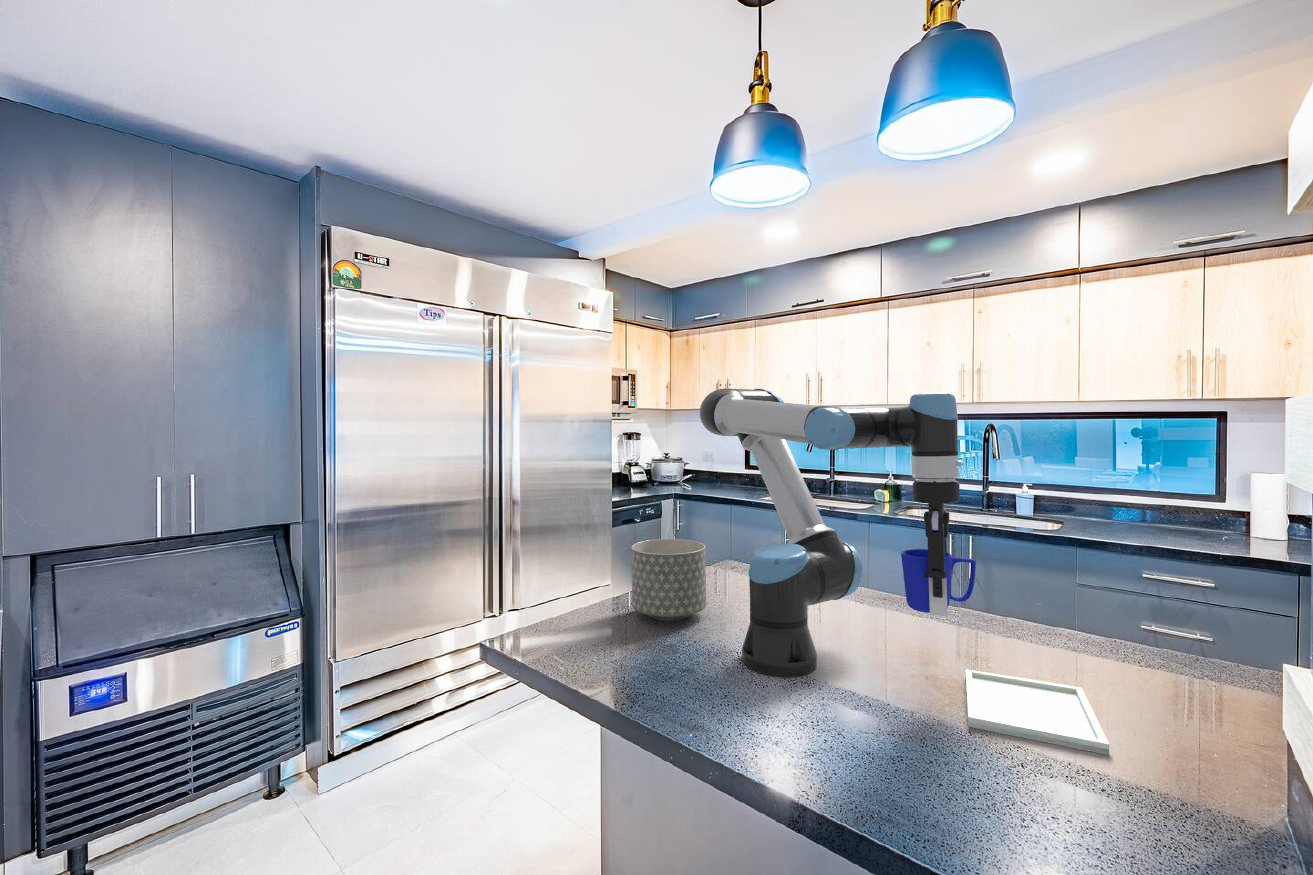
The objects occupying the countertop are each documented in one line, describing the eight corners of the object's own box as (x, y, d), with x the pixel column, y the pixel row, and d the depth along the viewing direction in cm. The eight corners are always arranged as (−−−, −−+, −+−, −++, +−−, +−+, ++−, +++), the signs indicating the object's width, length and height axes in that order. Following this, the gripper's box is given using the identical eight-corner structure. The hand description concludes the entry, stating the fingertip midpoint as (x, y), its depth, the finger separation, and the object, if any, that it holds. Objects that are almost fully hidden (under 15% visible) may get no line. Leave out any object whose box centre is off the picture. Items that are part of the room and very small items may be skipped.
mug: (984, 618, 96) (982, 559, 96) (907, 615, 99) (905, 557, 99) (969, 604, 104) (968, 549, 104) (899, 601, 107) (897, 548, 107)
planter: (639, 603, 158) (638, 538, 157) (708, 605, 155) (707, 539, 155) (626, 627, 139) (625, 553, 139) (704, 630, 136) (703, 554, 136)
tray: (968, 726, 91) (968, 716, 91) (965, 677, 109) (965, 669, 109) (1109, 754, 83) (1109, 744, 83) (1081, 696, 101) (1081, 687, 101)
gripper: (958, 484, 91) (963, 628, 91) (960, 476, 108) (964, 597, 108) (907, 483, 95) (911, 622, 94) (916, 476, 112) (920, 593, 112)
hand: (939, 608), depth 101 cm, fingers closed on mug, 7 cm apart
